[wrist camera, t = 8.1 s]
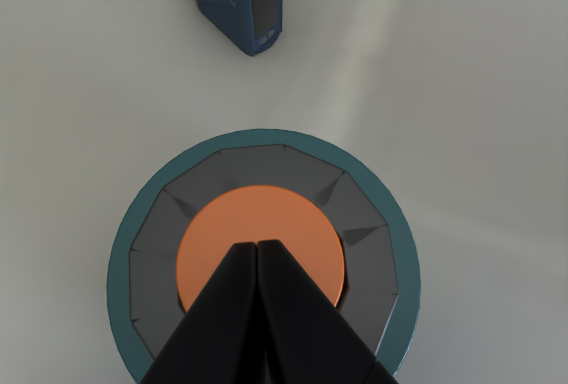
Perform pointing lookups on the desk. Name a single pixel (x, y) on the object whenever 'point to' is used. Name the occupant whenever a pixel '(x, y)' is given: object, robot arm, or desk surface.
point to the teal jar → (401, 237)
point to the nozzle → (259, 237)
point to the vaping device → (246, 21)
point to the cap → (276, 172)
